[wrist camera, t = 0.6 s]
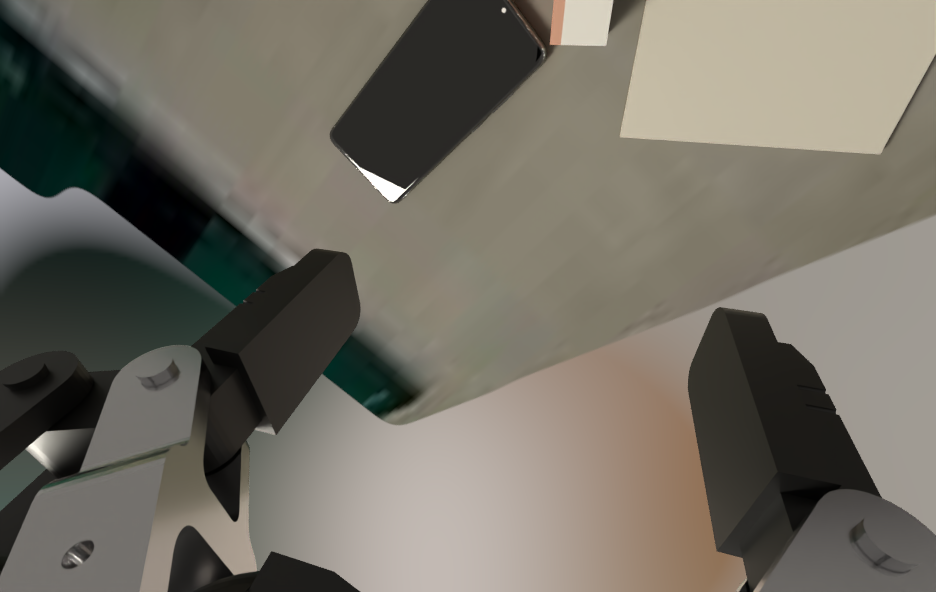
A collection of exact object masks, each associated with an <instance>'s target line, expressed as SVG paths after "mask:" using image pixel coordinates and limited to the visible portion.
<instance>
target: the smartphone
mask: <svg viewBox="0 0 936 592" xmlns="http://www.w3.org/2000/svg"><path fill="white" fill-rule="evenodd" d="M546 57H547V49H546V46H545V44H544V43H543V41H542V40H541V39H540V37H539V36H538V34H537V33H536V32H535V30H534V29H533V28H532V26H531V25H530V23H529V22H528V21H527V19H526V18H525V17H524V15H523V14H522V13H521V11H520V10H519V8H518V7H517V6H516V4H515V3H514V2H513V0H428V1H427V2H426V3H425V5H424V6H423V7H422V9H421V10H420V11H419V13H418V14H417V15H416V17H415V18H414V20H413V21H412V22H411V24H410V25H409V26H408V28H407V29H406V30H405V32H404V33H403V34H402V36H401V37H400V38H399V40H398V41H397V42H396V44H395V45H394V46H393V48H392V49H391V50H390V52H389V53H388V54H387V56H386V57H385V58H384V60H383V61H382V62H381V64H380V65H379V66H378V68H377V69H376V70H375V72H374V73H373V74H372V76H371V77H370V79H369V80H368V81H367V83H366V84H365V85H364V87H363V88H362V89H361V91H360V92H359V93H358V95H357V96H356V97H355V99H354V100H353V101H352V103H351V104H350V105H349V107H348V108H347V109H346V111H345V112H344V113H343V115H342V116H341V117H340V119H339V120H338V121H337V123H336V124H335V125H334V127H333V128H332V130H331V131H330V139H331V141H332V143H333V144H334V145H335V146H336V147H337V148H338V149H339V150H340V151H341V152H342V154H343V155H344V156H345V157H346V158H347V159H348V160H349V161H350V162H351V163H352V164H353V165H354V166H355V167H356V168H357V169H358V170H359V171H360V172H361V173H362V174H363V175H364V177H365V178H366V179H367V180H368V181H369V182H370V183H371V184H372V185H373V186H374V187H375V188H376V189H377V190H378V191H379V192H380V193H381V194H382V195H383V196H384V197H385V198H386V199H387V200H388V201H389V202H390V203H399V202H400V201H401V200H402V199H403V198H404V197H405V196H407V195H408V194H409V193H410V192H411V191H412V190H413V189H414V188H415V187H416V186H417V185H418V184H419V183H420V182H421V181H422V180H423V179H424V178H425V177H426V176H427V175H428V174H429V173H430V172H431V171H432V170H433V169H434V168H436V167H437V166H438V165H439V164H440V163H441V162H442V161H443V160H444V159H445V158H446V157H447V156H448V155H449V154H450V153H451V152H452V151H453V150H454V149H455V148H456V147H457V146H458V145H459V144H460V143H461V142H462V141H463V140H465V139H466V138H467V137H468V136H469V135H470V134H471V133H472V132H474V131H475V130H476V129H477V128H478V127H479V126H480V125H481V124H482V123H483V121H484V120H485V119H486V118H487V117H488V116H489V115H490V114H491V113H494V112H495V111H496V110H497V109H498V108H499V107H500V106H501V105H502V104H503V103H504V102H505V101H506V100H507V99H508V98H509V97H510V96H511V95H512V94H513V93H514V91H515V90H516V89H517V88H518V87H519V86H520V85H522V84H523V83H524V82H525V81H526V80H527V79H528V78H529V77H530V76H531V75H532V74H533V73H534V72H535V71H536V70H537V69H538V68H539V67H540V66H541V65H542V64H543V63H544V61H545V59H546Z"/></svg>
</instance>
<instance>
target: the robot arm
mask: <svg viewBox="0 0 936 592" xmlns="http://www.w3.org/2000/svg"><path fill="white" fill-rule="evenodd" d="M359 317H360V301H359V296H358V291H357V286H356V281H355V277H354V272H353V267H352V262H351V259H350V257H349V255H348V254H347V253H344V252H337V251H330V250H323V249H313V250H311V251H310V252H309V253H308V254H307V255H306V256H304V257H303V258H302V259H301V260H300V261H299V262H298V263H297V264H295V265H294V266H291V267H289V268H287V269H285V270H283V271H281V272H279V273H277V274H275V275H273V276H271V277H270V278H269V279H268V280H267V281H266V282H265V283H263V284H262V285H261V286H260V287H259V288H258V289H256V293H254V292H253V293H252V294H251V295H250V296H248V297H247V298H246V299H245V300H244V303H243V304H239V305H238V306H237V307H236V308H235V309H234V310H232V311H231V312H230V313H229V314H228V315H227V316H225V317H224V318H223V319H222V320H221V321H220V322H218V323H217V324H216V325H215V326H214V327H213V328H212V329H210V330H209V331H208V332H207V333H206V334H205V335H203V336H202V337H201V338H200V339H199V340H198V341H197V342H195V343H194V344H193V345H192V346H186V345H172V346H167V347H163V348H158V349H155V350H153V351H150V352H148V353H146V354H143V355H141V356H140V357H138V358H136V359H134V360H133V361H131V362H130V363H129V364H127V365H126V366H125V367H124V368H123V369H122V370H114V371H98V372H88V371H87V370H86V368H85V367H84V366H83V364H82V363H81V362H80V361H79V359H78V358H77V357H76V356H75V355H74V354H73V353H70V352H67V351H52V352H46V353H41V354H37V355H34V356H31V357H28V358H25V359H23V360H21V361H18V362H16V363H14V364H12V365H10V366H8V367H7V368H5V369H3V370H1V371H0V470H1V469H2V468H3V467H4V466H6V465H7V464H8V463H9V462H10V461H11V460H13V459H14V458H15V457H16V456H17V455H19V454H20V453H21V452H22V451H23V450H25V449H26V450H27V451H28V452H29V453H30V454H31V455H32V456H33V457H35V458H36V459H37V460H38V461H39V462H40V463H41V464H42V465H43V466H44V467H45V468H46V470H45V471H44V472H43V473H42V474H41V475H40V476H38V477H37V478H36V479H35V480H34V481H33V482H32V483H31V484H30V485H29V486H27V487H26V488H25V489H24V490H23V491H22V492H21V493H20V494H19V495H18V496H17V497H15V498H14V499H13V500H12V501H11V502H10V503H9V504H8V505H7V506H6V507H5V508H4V509H3V510H1V511H0V592H360V591H358V590H357V589H356V588H354V587H353V586H352V585H351V584H349V583H348V582H347V581H345V580H344V579H343V578H342V577H340V576H339V575H337V574H336V573H335V572H333V571H330V570H327V569H324V568H321V567H318V566H315V565H312V564H309V563H306V562H303V561H300V560H297V559H294V558H290V557H288V556H285V555H281V554H278V553H275V552H271V553H270V555H269V556H268V558H267V560H266V561H265V563H264V565H263V566H262V568H261V570H260V571H257V567H256V561H255V556H254V552H253V549H252V546H251V542H250V537H249V527H248V523H249V519H248V518H249V460H250V457H249V455H250V449H249V444H248V442H247V438H248V437H249V436H250V435H251V433H252V432H253V431H254V430H258V431H262V432H266V433H269V434H273V435H277V433H278V432H279V431H280V429H281V428H282V426H283V425H284V424H285V422H286V421H287V420H288V418H289V417H290V416H291V414H292V413H293V412H294V410H295V409H296V408H297V406H298V405H299V404H300V402H301V401H302V400H303V398H304V397H305V395H306V394H307V393H308V391H309V390H310V389H311V387H312V386H313V385H314V383H315V382H316V381H317V379H318V378H319V377H320V375H321V374H322V373H323V371H324V370H325V369H326V367H327V366H328V364H329V363H330V362H331V360H332V359H333V358H334V356H335V355H336V354H337V352H338V351H339V350H340V348H341V347H342V346H343V344H344V343H345V342H346V340H347V339H348V338H349V336H350V335H351V333H352V332H353V331H354V329H355V328H356V326H357V323H358V321H359ZM825 391H826V389H825V387H824V385H823V383H822V381H821V379H820V377H819V375H818V373H817V371H816V370H815V367H814V366H813V365H812V364H811V363H810V362H809V361H808V360H807V359H806V358H805V357H804V356H803V355H802V354H801V353H800V352H799V351H797V350H796V349H795V348H794V347H793V346H792V345H791V344H786V343H779V342H777V340H776V338H775V335H774V333H773V331H772V328H771V326H770V324H769V322H768V320H767V318H766V316H765V315H764V314H762V313H756V312H749V311H742V310H735V309H728V308H721V307H719V308H717V309H716V310H715V311H714V313H713V314H712V316H711V319H710V321H709V323H708V326H707V328H706V330H705V333H704V336H703V337H702V340H701V342H700V344H699V347H698V349H697V351H696V354H695V356H694V359H693V361H692V363H691V367H690V371H689V378H688V392H689V398H690V403H691V409H692V415H693V421H694V426H695V432H696V437H697V443H698V449H699V454H700V460H701V466H702V471H703V477H704V482H705V488H706V494H707V499H708V505H709V510H710V516H711V521H712V527H713V532H714V538H715V544H716V549H717V551H718V552H722V553H726V554H730V555H733V556H737V557H741V558H743V561H744V565H745V570H746V575H747V578H746V580H744V581H743V583H742V584H741V585H740V586H739V588H738V589H737V591H736V592H936V535H935V534H933V533H932V532H931V531H930V530H929V529H928V528H927V527H926V526H925V525H924V524H922V523H921V522H920V521H919V520H917V519H916V518H915V517H914V516H912V515H911V514H909V513H908V512H906V511H905V510H903V509H902V508H900V507H898V506H896V505H895V504H893V503H891V502H889V501H887V500H885V499H883V498H882V497H881V496H880V494H879V492H878V490H877V488H876V486H875V484H874V482H873V480H872V478H871V476H870V474H869V472H868V470H867V468H866V466H865V465H864V463H863V461H862V459H861V457H860V455H859V453H858V451H857V449H856V447H855V445H854V444H853V441H852V439H851V437H850V435H849V434H848V431H847V429H846V428H845V426H844V424H843V422H842V420H841V418H840V416H839V415H836V408H835V406H834V404H833V402H832V400H831V398H830V396H829V395H828V394H825Z"/></svg>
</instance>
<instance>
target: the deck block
mask: <svg viewBox="0 0 936 592" xmlns="http://www.w3.org/2000/svg"><path fill="white" fill-rule="evenodd" d="M612 5H613V0H554V4H553V15H552V26H551V37H550V45H587V46H606V43H607V37H608V30H609V24H610V18H611V12H612Z"/></svg>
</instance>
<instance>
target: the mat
mask: <svg viewBox="0 0 936 592" xmlns="http://www.w3.org/2000/svg"><path fill="white" fill-rule="evenodd" d="M935 54H936V0H646V4H645V9H644V14H643V19H642V24H641V30H640V35H639V40H638V45H637V50H636V55H635V60H634V65H633V70H632V75H631V81H630V86H629V91H628V96H627V101H626V106H625V111H624V116H623V121H622V126H621V132H620V137H626V138H641V139H656V140H671V141H686V142H702V143H717V144H732V145H747V146H762V147H777V148H792V149H807V150H823V151H838V152H853V153H868V154H881V152H882V150H883V148H884V147H885V145H886V143H887V141H888V139H889V138H890V136H891V134H892V132H893V130H894V128H895V127H896V125H897V123H898V121H899V119H900V118H901V116H902V114H903V112H904V110H905V109H906V107H907V105H908V103H909V101H910V100H911V98H912V96H913V94H914V92H915V90H916V89H917V87H918V85H919V83H920V81H921V80H922V78H923V76H924V74H925V72H926V71H927V69H928V67H929V65H930V63H931V62H932V60H933V58H934V56H935Z"/></svg>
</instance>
